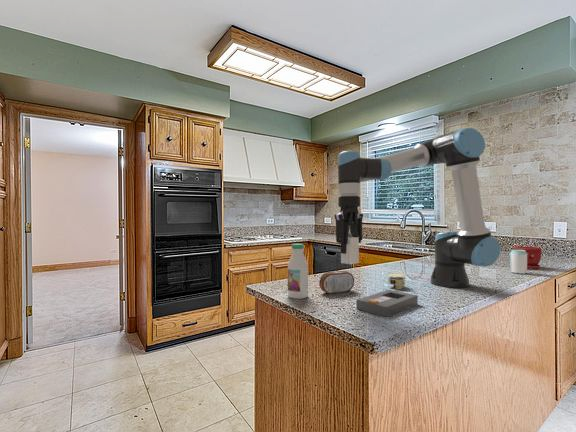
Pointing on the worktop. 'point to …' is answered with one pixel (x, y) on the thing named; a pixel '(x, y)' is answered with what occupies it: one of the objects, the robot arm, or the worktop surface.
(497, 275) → the worktop surface
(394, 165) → the robot arm
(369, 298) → the power strip
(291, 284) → the milk bottle
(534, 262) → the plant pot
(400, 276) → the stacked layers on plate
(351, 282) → the tin
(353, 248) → the block
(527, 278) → the worktop surface
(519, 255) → the can
